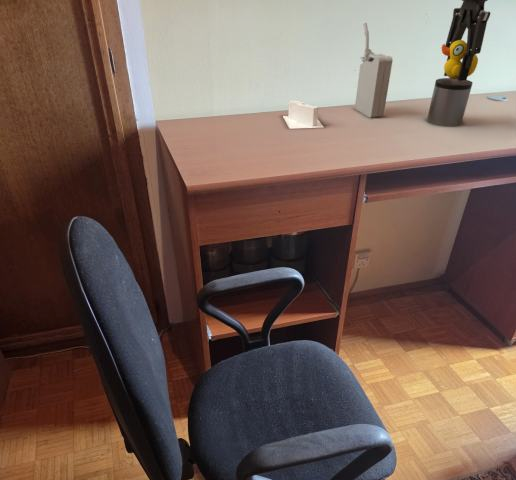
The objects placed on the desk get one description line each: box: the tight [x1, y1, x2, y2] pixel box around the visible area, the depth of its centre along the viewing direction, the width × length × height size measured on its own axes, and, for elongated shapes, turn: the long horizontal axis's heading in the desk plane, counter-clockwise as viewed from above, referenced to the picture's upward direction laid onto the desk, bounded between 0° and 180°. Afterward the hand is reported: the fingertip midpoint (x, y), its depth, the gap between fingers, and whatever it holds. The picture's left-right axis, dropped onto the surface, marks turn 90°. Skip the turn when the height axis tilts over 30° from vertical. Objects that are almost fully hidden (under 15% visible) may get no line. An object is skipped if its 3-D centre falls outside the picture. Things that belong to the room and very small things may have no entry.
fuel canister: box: [354, 22, 394, 119], centre depth 150 cm, size 15×5×25 cm, turn 16°
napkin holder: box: [282, 99, 324, 130], centre depth 147 cm, size 15×11×6 cm
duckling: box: [441, 39, 479, 79], centre depth 137 cm, size 11×5×10 cm, turn 75°
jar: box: [426, 77, 473, 127], centre depth 145 cm, size 11×11×12 cm
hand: (455, 77), depth 140 cm, fingers closed on duckling, 6 cm apart
